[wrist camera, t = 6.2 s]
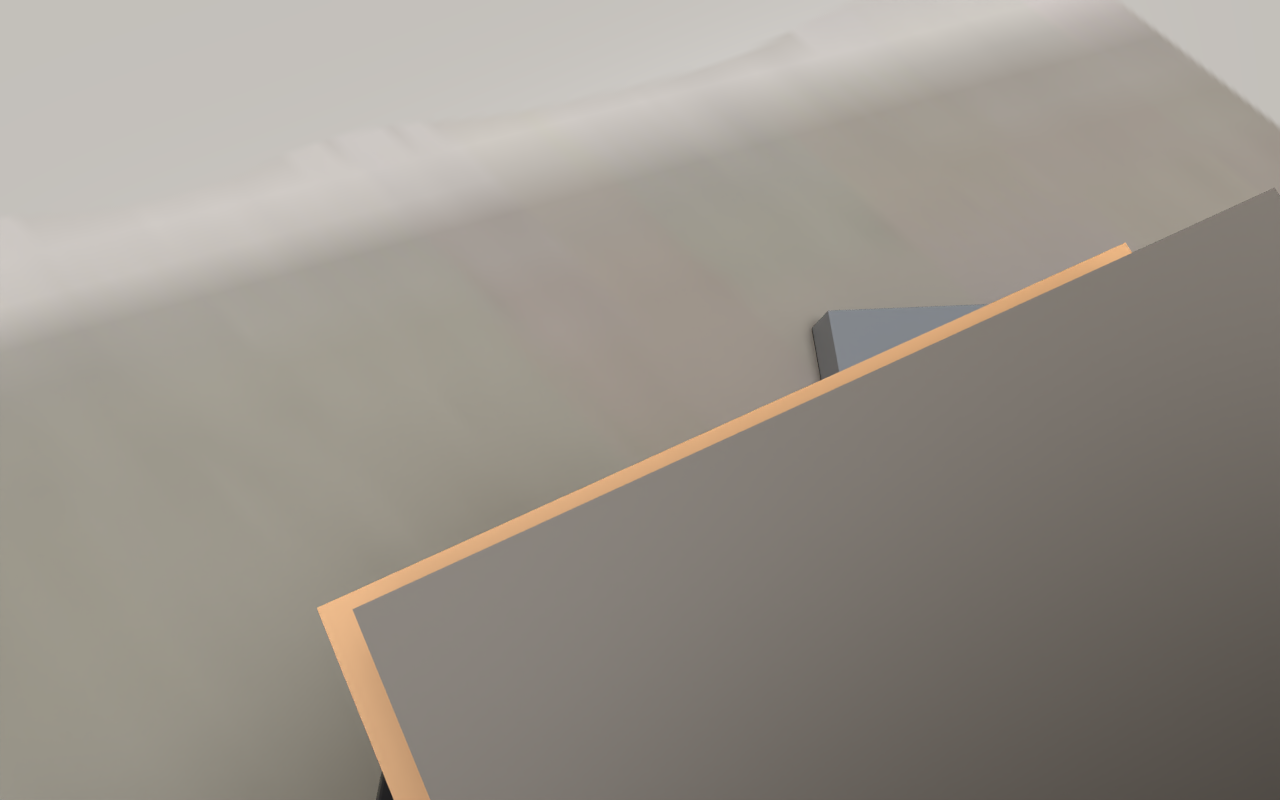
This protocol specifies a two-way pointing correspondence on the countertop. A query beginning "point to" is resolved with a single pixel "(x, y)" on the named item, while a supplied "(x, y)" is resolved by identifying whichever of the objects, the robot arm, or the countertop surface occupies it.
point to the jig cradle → (874, 332)
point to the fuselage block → (892, 574)
